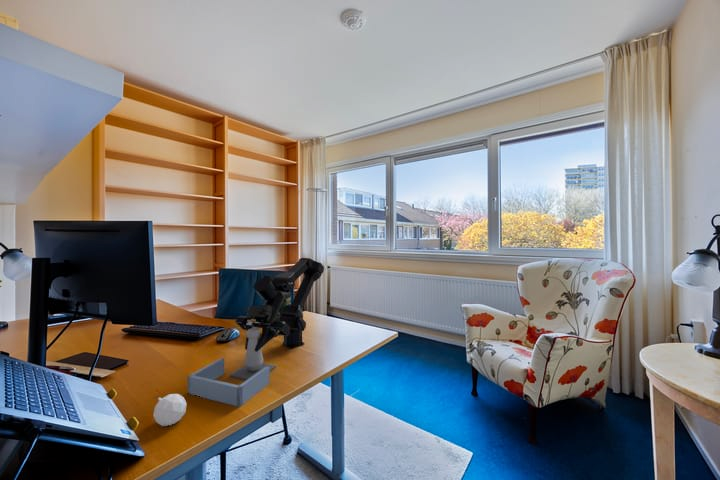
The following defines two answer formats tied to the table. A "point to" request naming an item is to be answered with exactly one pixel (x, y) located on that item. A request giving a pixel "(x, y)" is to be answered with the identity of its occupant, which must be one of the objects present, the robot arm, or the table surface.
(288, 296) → the coffee jar
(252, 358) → the salt shaker
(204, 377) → the cradle
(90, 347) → the table surface
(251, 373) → the coaster
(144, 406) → the table surface
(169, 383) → the table surface
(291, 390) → the table surface
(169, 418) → the ornament
